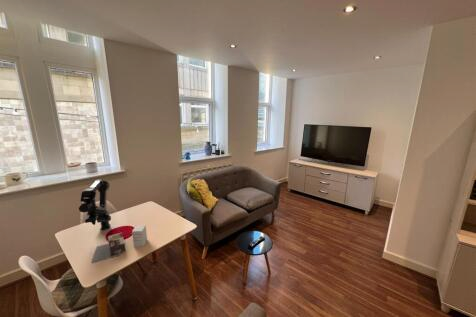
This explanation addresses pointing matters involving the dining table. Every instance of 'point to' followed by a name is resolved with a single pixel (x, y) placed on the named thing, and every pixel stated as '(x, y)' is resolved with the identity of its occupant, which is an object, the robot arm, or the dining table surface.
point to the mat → (102, 253)
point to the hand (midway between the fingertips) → (94, 224)
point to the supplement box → (139, 235)
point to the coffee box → (116, 244)
